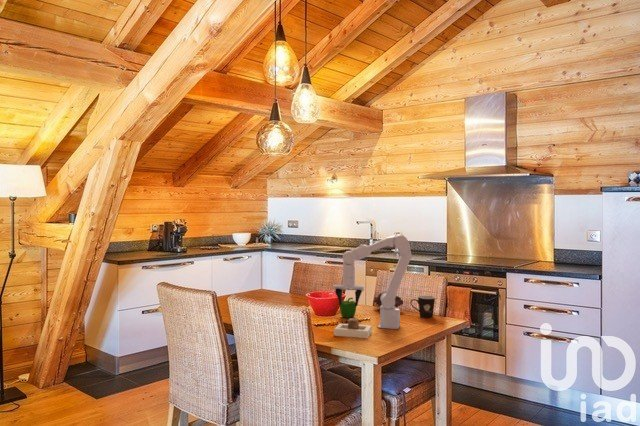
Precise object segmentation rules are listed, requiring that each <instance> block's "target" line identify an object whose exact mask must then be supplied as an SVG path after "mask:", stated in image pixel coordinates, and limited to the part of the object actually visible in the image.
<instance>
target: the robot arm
mask: <svg viewBox="0 0 640 426" xmlns="http://www.w3.org/2000/svg"><path fill="white" fill-rule="evenodd" d="M386 247H389V248H390V247H391V248H394V247H396V249H397V250H398V253H399V255H400V256H399V259H398V261H397V264H396V266H395V268H394V271H393V274H392V276H391V278H390V281H389V282H388V285H387V286H386V288H385V291H383V292H384V293H383V294H382V295H381V297H380V299H381V302H382V305H381V306H380V307H379V325H378V326H377V328H378V329H380V328H381V329H390V330H391V329H393V330H398V329H399V328H400V326H401V309H400V308H398V307H395V306H394V305H395V298H396V296H397V293H398V291H399V288H400V286H401V284H402V283H401V282H402V281H403V278H404V276H405V273H406V270H407V269H408V266H409V263H410V261H411V259H412V257H413V256H412V251H411V246H410V242H409V240H408V238H407V237H406V236H405V235H404V234H402V233H397V234H395V235H389V236H387V237H385V238H382V239H380V240H378V241H376V242H374V243H372V244H369V245H368V244H362V243H361V244H359V246H357V247H355V248H350V250H346V251H345V252H344V253H343V255H342V261H343V262H342V284H333V286H332V290H334V292H335V295H336V297H337V300H338V302H339V306H340V305H342V301H343V300H342V299H343V291H354V293H355V294H354V295H355V306H356V307H357V306H358V304H359V301H360V297H361V295H362V292H364V291H365V286H364V285H356V284H355V283H356V272H355V271H356V270H355V261H360V260H362V259H364V258H367V257H370V255H371V253H372V252H375V251H377V250H380V249H383V248H386Z"/></svg>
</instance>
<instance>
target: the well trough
mask: <svg viewBox="0 0 640 426" xmlns="http://www.w3.org/2000/svg"><path fill="white" fill-rule="evenodd" d="M372 327H373V326H372V325H366V324H359V329H348V323H338V324H337V326H336V327H334V329H333V331H334V332H333V336H337V337H348V338H360V339H368V338H369V337H370V335H371V334H372V331H373V328H372Z"/></svg>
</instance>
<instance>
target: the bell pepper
mask: <svg viewBox="0 0 640 426" xmlns="http://www.w3.org/2000/svg"><path fill="white" fill-rule="evenodd" d="M355 301H356V300H355ZM355 301H354V298H353V297H349V298H347V300H342V305H339V310H340V311H339V312H340V314H341V316H342V317H343V318H344V317H346V319H350V318H354V317H355V314H356V310H357V306H355Z"/></svg>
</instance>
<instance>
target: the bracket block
mask: <svg viewBox="0 0 640 426" xmlns="http://www.w3.org/2000/svg"><path fill="white" fill-rule="evenodd" d="M347 324H348V329H359V325H360V324H359V318H354V317H350V318H348V320H347Z"/></svg>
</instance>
